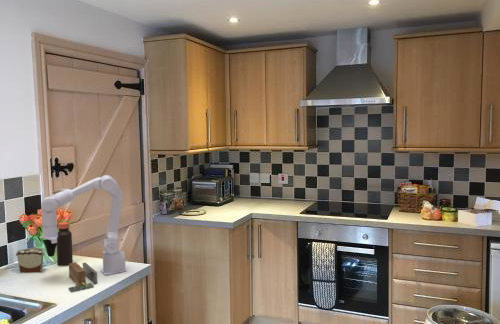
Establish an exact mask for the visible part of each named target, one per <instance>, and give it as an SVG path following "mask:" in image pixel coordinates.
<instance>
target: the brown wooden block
mask: <svg viewBox="0 0 500 324" xmlns="http://www.w3.org/2000/svg"><path fill="white" fill-rule="evenodd" d="M68 278H70V279H71V280H72V281H73V282H74V283H75V284H76V286H79V285H84V286H85V284H87V281H86V279H87V277H86V272H85V270H84V269H83V266H81V265H80V264H78V262H76V261H73V263H69V265H68Z"/></svg>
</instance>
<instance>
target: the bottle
mask: <svg viewBox="0 0 500 324" xmlns="http://www.w3.org/2000/svg"><path fill="white" fill-rule="evenodd" d="M57 229H58V231H57V234H58V237H57V240H58V243H57V245H56V257H57V260H56V263H57V265H58V266H59V267H66V266H67V267H68V266H69V263H74V261H73V260H74V259H73V257H74V256H73V234H72V232H71V231H70V230H69V229H70V222H68V221H64V222H63V221H62V222H59V223H58V222H57Z"/></svg>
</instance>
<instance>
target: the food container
mask: <svg viewBox="0 0 500 324" xmlns="http://www.w3.org/2000/svg"><path fill="white" fill-rule="evenodd" d="M45 255H46V254H45V250H44V249H43V248H42V247H41V248H40V247H30V248H29V247H28V248H23V249H19V250H17V251H16V253H15V257H16V258H17V263H18V269H19V274H41V273H42V272H43V262H44V256H45Z"/></svg>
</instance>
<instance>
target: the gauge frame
mask: <svg viewBox="0 0 500 324" xmlns="http://www.w3.org/2000/svg"><path fill="white" fill-rule="evenodd" d="M82 268H83V269H84V270H85V272H86V279H88V280H89V281H90V282H88V283H86V284H85V286H84V285H79V286H78V285H75V286H71V287H68V291H69V292H70V293H71V294H72V293H75V292H78V291H79V292H80V291H84V290H88V289H93V288H94V285H97V284H98V272H97V271H96V270H95V269H94V268H92V266H90V265H89V264H88V263H87V262H82ZM92 283H93V284H92Z"/></svg>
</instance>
